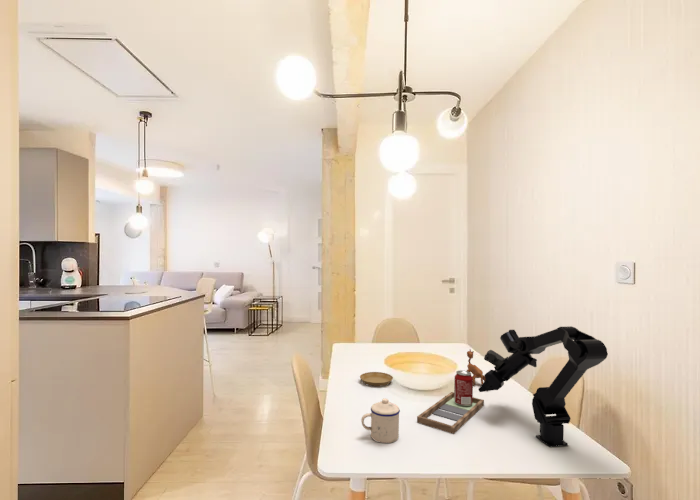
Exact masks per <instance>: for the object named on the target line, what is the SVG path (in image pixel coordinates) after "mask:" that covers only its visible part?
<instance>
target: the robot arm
mask: <svg viewBox="0 0 700 500" xmlns="http://www.w3.org/2000/svg"><path fill="white" fill-rule="evenodd" d="M499 339H500V342H502V344H503V346H504V348H505V350H506V351H507V352H508V353H509V354H510V353H511V354H510V355H509V356H506V357H503V356H502V355H501V354H499V352H498V353H497V352H495V351H494V350H492V349H490V350H488V351H487V352H486V353H485V354H484V357H483V360H485V361H486V362H488V363H490V364H491V365H493V368H494V369H490V370H488V372H487V371H486V373H485V374H484V377H485V381H484V380H483V384H481V385H480V386H479V388H478V391H479V393H483V392H491V391H498V390H500V389H501V388H502V387H503V386H505V385H504V384H505V382H508V381H509V380H510V379H511V378H513V377H514V376H516V375H517V374H518V373H520V372H521V371H522V370H524V369H525V368H526V367H527V366H531V367H534V368H537V361H538V360H537V358H535V357H533V356H532V355H541V353H543V352H545V351H546V349H547V348H549V347H553V346H556V345H559V344H562V346H563V348H564V350H565V351H567V354H568V355H567V356H568V360H567V361H566V363H565V364H564V365H563V367H562V369H561V370H560V371H559V373H558V374H557V376H555V378H554V379H553V381H552V382H551V384H549V386H543V387H541V386H540V387H538V388H537V389H536V392H535V393H533V394H532V396H533V398H532V399H531V406H532V411H533V414H534V415H533V416H534V420H536V421H537V423H539V434H536V435H535V438H537V439H538V440H540V441H541V442H542V443H543V444H545V445H546V446H547V447H549V448H550V447H551V448H552V447H553V448H554V447H563V446H569V443H568V442H567V441H565V440H564V431H565V429H564V424H565V425H566V424H570V422H571V420H572V419H571V416H570V414H569V412H568V411H567V409H566V404H567V403H566V399H565V398H566V397H567V395H568V394H569V393H570V392H571V391H572V390H573V388H574V387H575V385H577V383H578V382H579V380H580V379H581V378H582V377H583V375H584V374H585V373H586V372H587V371H588V370H590V369H591V368H594V367H596V366H598V365H599V364H601V363H602V362H603V361H605V360H606V359H607V357H608V348H607V347H606V345H605V343H604V342H603V341H602V340H600V339H597V338H596V337H594V336H592V335H590V334H587V333H586V332H583V331H581V330H579V329H578V328H576V327H574V326H572V325H571V326H569V325H568V326H559V327H557V328H554V329H552V330H550V331H547V332H544V333H541V334H538V335H533V336H520V337H519V335H518V333H517V332H516V330H515V329H509V330H508V331H506V332H504V333H502V334H501V335H500V337H499Z"/></svg>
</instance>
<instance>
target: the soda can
mask: <svg viewBox="0 0 700 500" xmlns="http://www.w3.org/2000/svg"><path fill="white" fill-rule="evenodd" d="M455 373H456V374H455V375H454V376H453V377H454V379H453V381H454V384H453V385H454V388H453V389H454V391H453V392H454V402H455V403H456V404H457V405H459V406H464V407H467V406H470V405H472V402H473V397H474V396H473V394H474V390H473V389H474V388H473V387H474V386H473V378H472V376H473V375H472V372H468V371H467V370H461V369H460V370H457V371H456V372H455Z"/></svg>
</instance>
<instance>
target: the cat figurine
mask: <svg viewBox="0 0 700 500" xmlns="http://www.w3.org/2000/svg"><path fill="white" fill-rule="evenodd" d="M466 355H467V356H466V357H468V360H467V362H468V363H467V369H466V371H468V372H470V373H471V376H472V378H473V387H474V386H475V385H476V381H475V380H476V379H480V382H481V383H480V384H481V385H482V384H483V383H484V381H485V377H484V376H485V374H484V373H483V370H482V369H480V368H479V367H478V366H477V365H475V364H472V363H471V360H472V359H473V358H474V350H471V349H469V350H467V352H466ZM483 374H484V375H483Z"/></svg>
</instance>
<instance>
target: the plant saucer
mask: <svg viewBox="0 0 700 500" xmlns="http://www.w3.org/2000/svg"><path fill="white" fill-rule="evenodd" d="M359 379H360V380H361V381H362V382H363V384H365V385H367V386H370V387H385V386H387V385H389V384H390V383H391V382H392V380H394V377H393V375H391V374H388V373H385V372H380V371H369V372H368V371H367V372H365V373H362V374H361V375H360V376H359Z"/></svg>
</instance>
